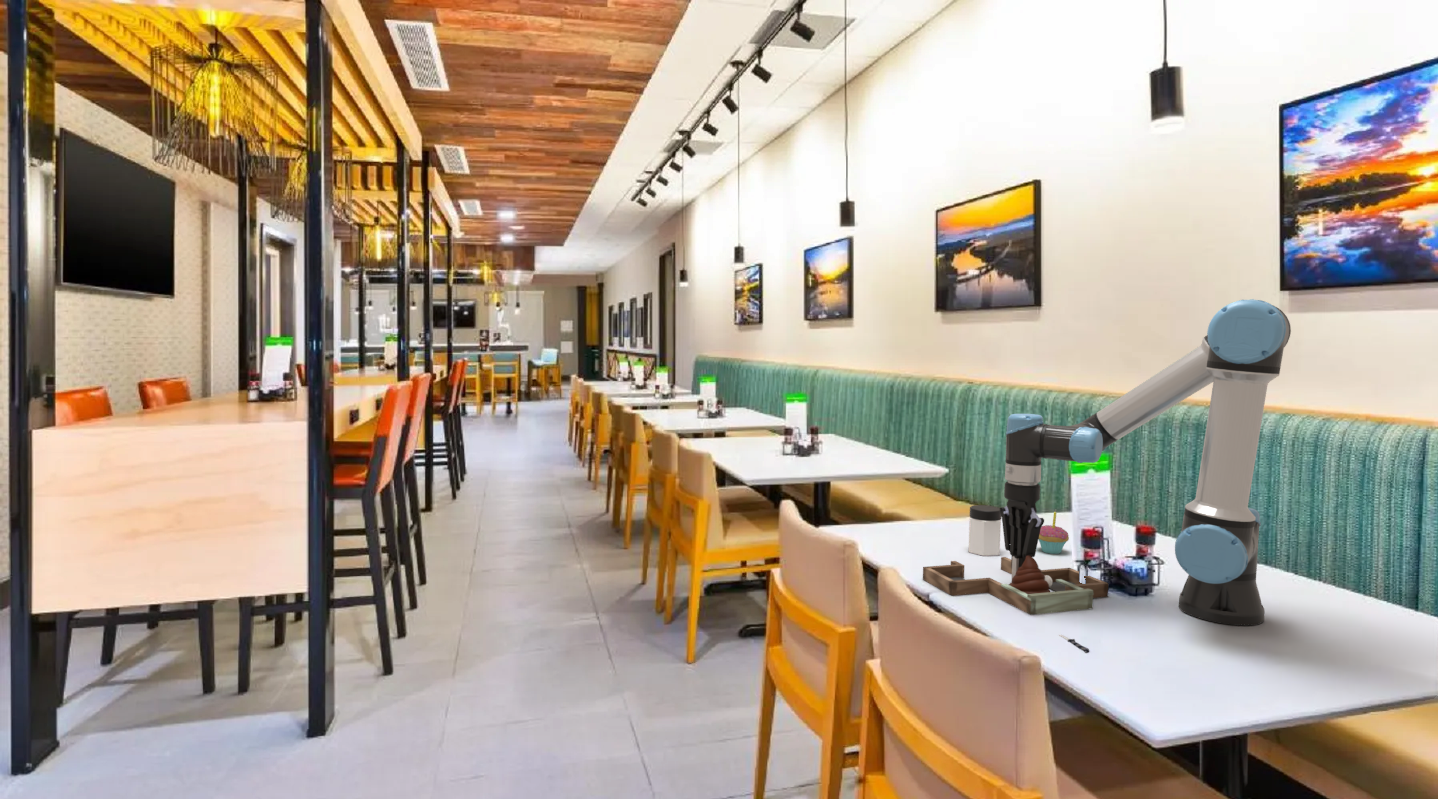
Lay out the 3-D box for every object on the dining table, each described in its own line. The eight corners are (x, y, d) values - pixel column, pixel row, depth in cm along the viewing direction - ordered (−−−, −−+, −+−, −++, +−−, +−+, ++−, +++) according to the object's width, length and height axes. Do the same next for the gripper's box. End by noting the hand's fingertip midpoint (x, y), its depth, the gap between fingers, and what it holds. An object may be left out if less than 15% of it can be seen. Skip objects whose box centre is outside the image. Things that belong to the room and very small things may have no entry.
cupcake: (1073, 556, 207) (1075, 511, 206) (1041, 555, 207) (1043, 511, 206) (1060, 547, 215) (1061, 504, 215) (1029, 547, 216) (1030, 504, 215)
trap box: (1127, 605, 168) (1128, 587, 168) (991, 618, 159) (992, 599, 159) (1036, 566, 197) (1036, 550, 197) (916, 575, 188) (917, 559, 188)
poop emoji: (999, 592, 176) (1000, 551, 175) (1031, 589, 178) (1033, 549, 178) (1026, 607, 166) (1028, 564, 166) (1061, 604, 169) (1063, 561, 168)
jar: (1007, 553, 209) (1009, 508, 209) (990, 558, 204) (992, 512, 203) (977, 546, 216) (979, 503, 215) (960, 550, 211) (962, 507, 210)
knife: (1096, 654, 143) (1096, 649, 143) (1085, 655, 142) (1085, 650, 142) (1027, 618, 161) (1027, 613, 161) (1017, 619, 161) (1017, 614, 160)
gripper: (990, 477, 181) (987, 577, 183) (1026, 488, 169) (1022, 595, 170) (1018, 476, 183) (1014, 575, 185) (1056, 486, 171) (1051, 592, 172)
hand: (1018, 584), depth 178 cm, fingers closed
